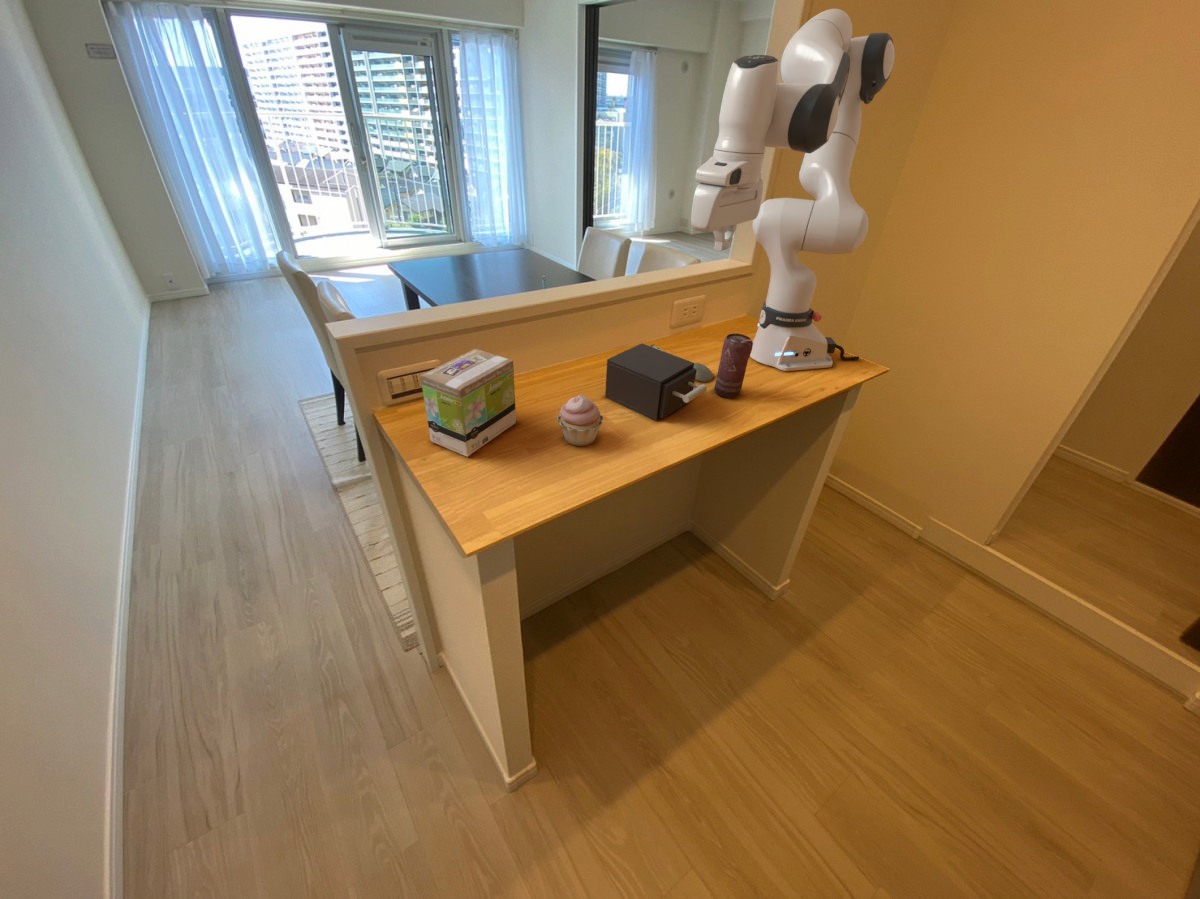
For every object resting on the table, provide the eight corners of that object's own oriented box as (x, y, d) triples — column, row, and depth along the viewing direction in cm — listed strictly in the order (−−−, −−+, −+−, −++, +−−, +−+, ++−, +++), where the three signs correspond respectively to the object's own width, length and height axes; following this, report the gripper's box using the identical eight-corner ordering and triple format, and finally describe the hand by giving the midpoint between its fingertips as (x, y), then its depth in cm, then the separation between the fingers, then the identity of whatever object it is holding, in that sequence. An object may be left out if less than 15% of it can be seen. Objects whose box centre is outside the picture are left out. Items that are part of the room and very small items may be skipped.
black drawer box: (688, 400, 114) (694, 362, 108) (656, 421, 106) (661, 381, 100) (638, 379, 121) (641, 343, 116) (605, 397, 113) (607, 359, 108)
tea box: (469, 459, 92) (459, 389, 83) (430, 442, 96) (416, 374, 87) (518, 423, 103) (514, 358, 94) (480, 409, 107) (473, 346, 98)
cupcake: (556, 425, 103) (555, 383, 97) (600, 425, 104) (602, 383, 98) (556, 451, 95) (556, 407, 89) (604, 450, 96) (607, 406, 90)
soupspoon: (697, 387, 121) (716, 382, 124) (700, 375, 119) (719, 370, 122) (642, 351, 134) (660, 347, 138) (644, 340, 133) (662, 336, 136)
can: (741, 401, 115) (754, 344, 106) (713, 397, 115) (725, 341, 107) (740, 388, 119) (753, 334, 111) (714, 385, 120) (725, 331, 112)
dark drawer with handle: (707, 406, 110) (713, 375, 105) (679, 426, 103) (684, 393, 98) (644, 380, 119) (647, 350, 115) (614, 396, 112) (616, 365, 107)
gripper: (747, 163, 97) (732, 238, 105) (690, 171, 84) (679, 254, 92) (777, 167, 93) (759, 244, 102) (723, 176, 81) (708, 262, 89)
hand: (721, 249), depth 97 cm, fingers closed
